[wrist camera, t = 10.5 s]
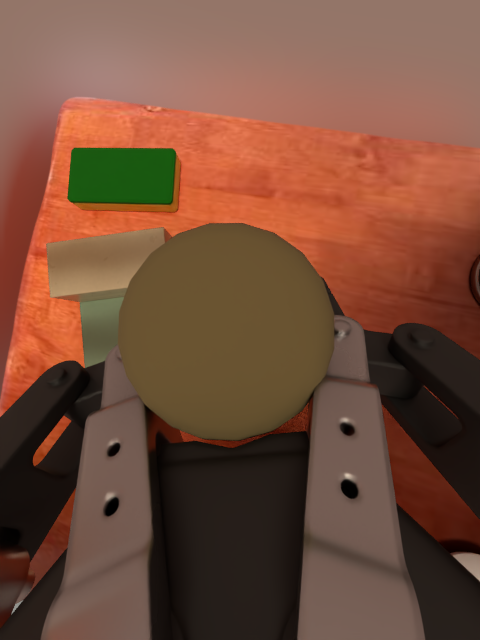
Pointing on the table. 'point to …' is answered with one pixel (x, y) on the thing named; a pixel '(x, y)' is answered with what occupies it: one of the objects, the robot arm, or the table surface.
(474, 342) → the table surface
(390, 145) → the table surface
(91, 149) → the dish sponge
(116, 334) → the stepped block
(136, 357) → the brown pawn figure
